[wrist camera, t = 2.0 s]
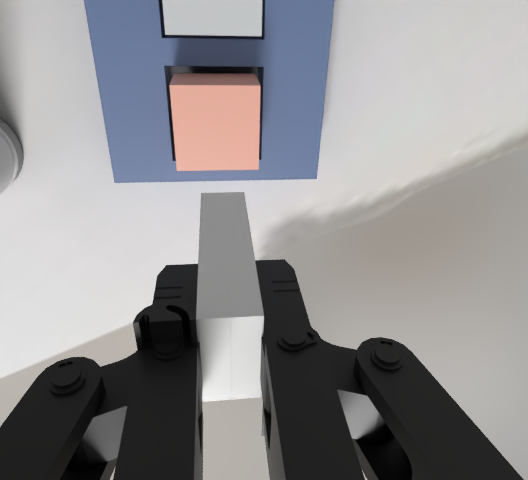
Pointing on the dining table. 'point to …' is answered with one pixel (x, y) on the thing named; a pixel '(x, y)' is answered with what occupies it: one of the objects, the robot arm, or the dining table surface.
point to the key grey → (213, 17)
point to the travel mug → (9, 156)
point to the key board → (210, 54)
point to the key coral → (215, 121)
